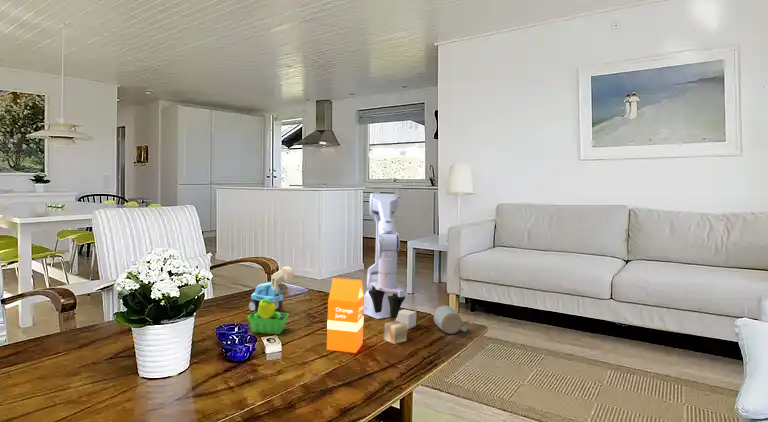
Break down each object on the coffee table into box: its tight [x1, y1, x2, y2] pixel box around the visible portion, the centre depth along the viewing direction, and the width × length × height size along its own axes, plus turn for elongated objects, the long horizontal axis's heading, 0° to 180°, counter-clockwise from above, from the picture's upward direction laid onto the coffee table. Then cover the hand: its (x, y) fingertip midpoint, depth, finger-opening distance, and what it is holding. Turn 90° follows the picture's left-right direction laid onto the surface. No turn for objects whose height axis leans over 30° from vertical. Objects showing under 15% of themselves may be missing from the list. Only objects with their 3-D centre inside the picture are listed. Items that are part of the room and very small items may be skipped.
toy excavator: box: [247, 266, 295, 312], centre depth 169 cm, size 9×17×17 cm, turn 60°
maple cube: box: [383, 320, 408, 345], centre depth 144 cm, size 5×5×5 cm
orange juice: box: [326, 277, 365, 354], centre depth 136 cm, size 8×9×20 cm
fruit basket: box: [247, 298, 290, 335], centre depth 148 cm, size 11×9×11 cm
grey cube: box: [395, 308, 417, 331], centre depth 158 cm, size 5×5×5 cm
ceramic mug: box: [433, 304, 469, 335], centre depth 155 cm, size 11×8×8 cm
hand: (385, 315), depth 147 cm, fingers open, 7 cm apart
